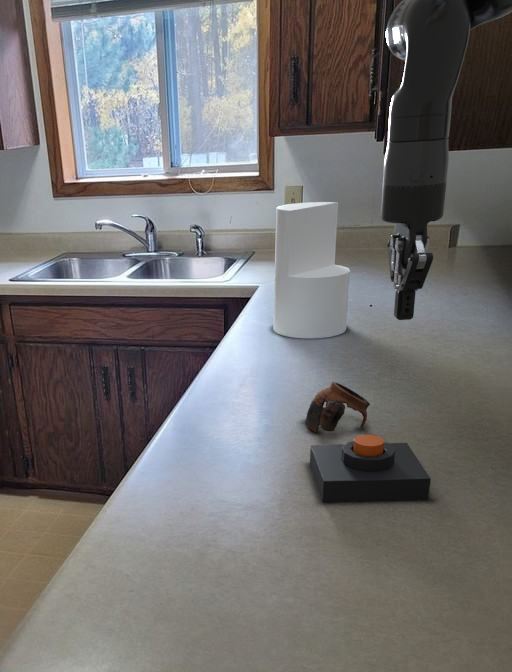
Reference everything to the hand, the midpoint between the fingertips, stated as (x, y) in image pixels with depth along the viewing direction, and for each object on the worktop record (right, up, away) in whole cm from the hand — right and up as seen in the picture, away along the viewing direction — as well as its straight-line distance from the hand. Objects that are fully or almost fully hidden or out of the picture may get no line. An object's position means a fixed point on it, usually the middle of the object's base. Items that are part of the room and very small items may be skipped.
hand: (403, 318), depth 99 cm
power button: (-4, -18, +4) cm, 19 cm away
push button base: (-3, -22, +6) cm, 23 cm away
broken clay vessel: (-4, -13, +24) cm, 27 cm away
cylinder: (+4, +15, +80) cm, 81 cm away
